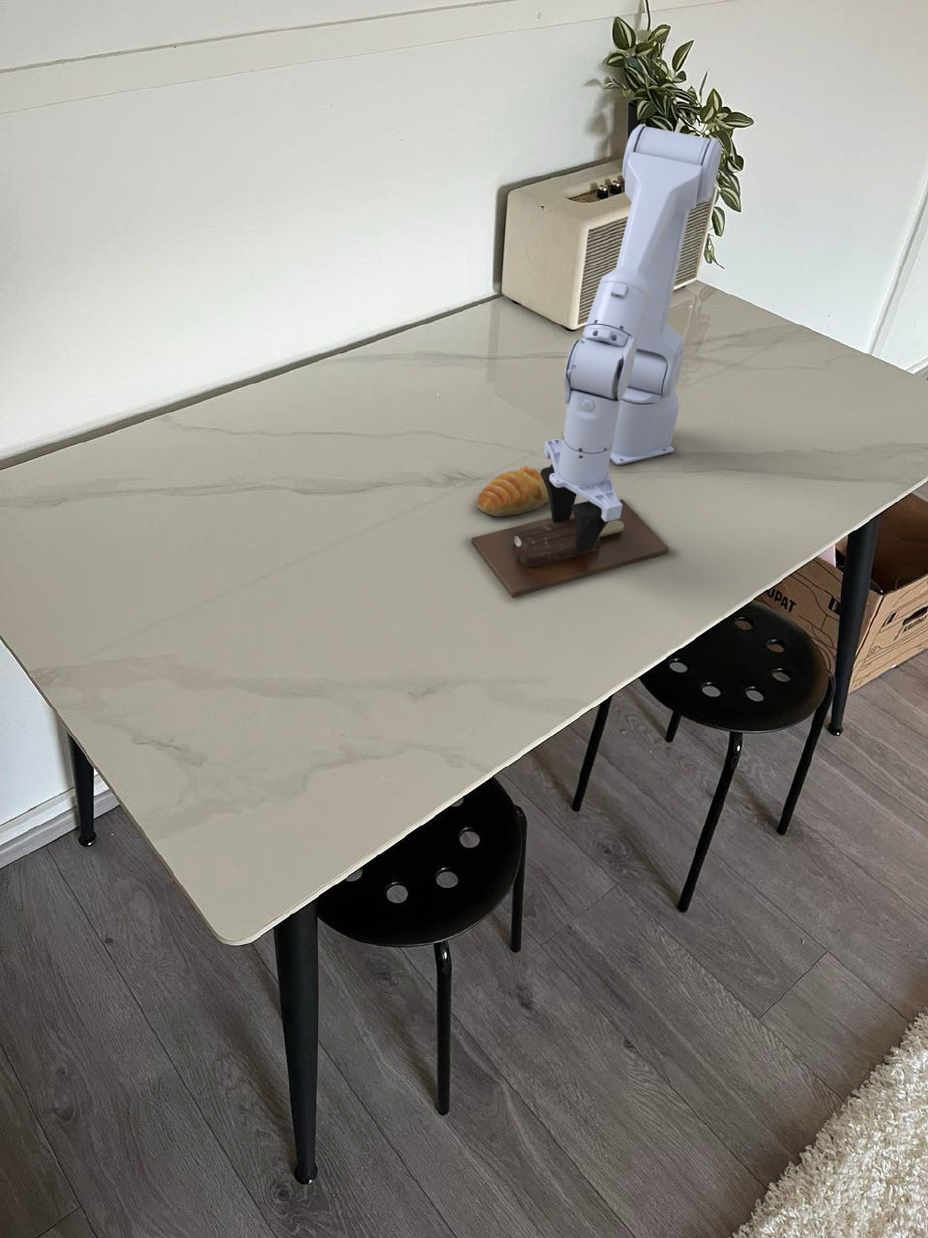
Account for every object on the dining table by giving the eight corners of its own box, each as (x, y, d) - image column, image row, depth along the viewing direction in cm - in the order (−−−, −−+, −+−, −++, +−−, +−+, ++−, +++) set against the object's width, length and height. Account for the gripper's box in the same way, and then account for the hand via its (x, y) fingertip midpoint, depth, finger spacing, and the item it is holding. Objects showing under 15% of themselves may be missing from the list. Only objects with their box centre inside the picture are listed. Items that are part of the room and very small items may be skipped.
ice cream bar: (611, 517, 132) (506, 544, 126) (613, 507, 131) (507, 534, 125) (633, 542, 128) (526, 570, 123) (635, 531, 127) (528, 559, 122)
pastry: (498, 528, 130) (500, 503, 127) (464, 502, 134) (466, 477, 131) (553, 503, 135) (556, 479, 132) (519, 479, 138) (522, 454, 136)
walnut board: (621, 503, 135) (622, 498, 135) (668, 553, 128) (669, 548, 128) (470, 542, 128) (471, 537, 127) (512, 597, 121) (512, 592, 120)
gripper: (526, 414, 121) (515, 508, 130) (590, 481, 111) (573, 577, 120) (578, 403, 123) (564, 495, 132) (645, 468, 114) (625, 563, 123)
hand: (572, 534), depth 127 cm, fingers closed on ice cream bar, 5 cm apart
